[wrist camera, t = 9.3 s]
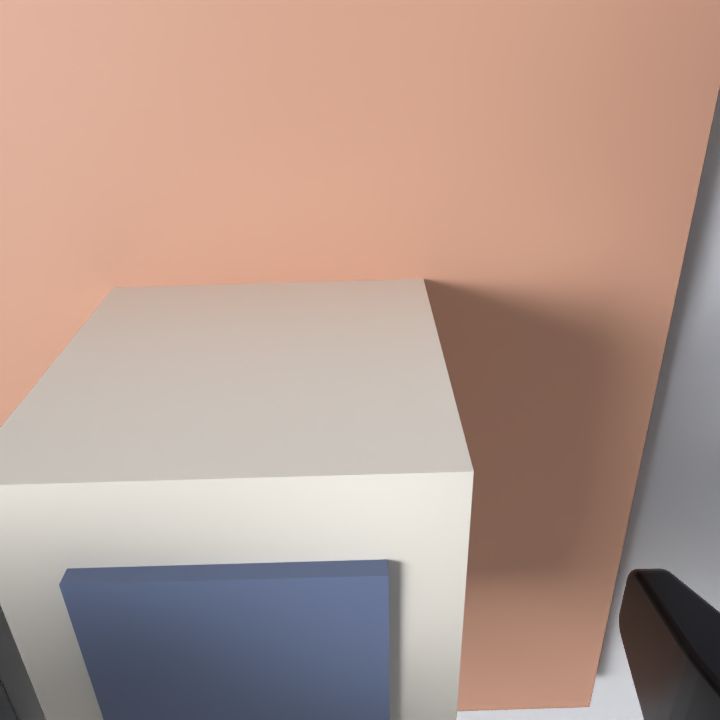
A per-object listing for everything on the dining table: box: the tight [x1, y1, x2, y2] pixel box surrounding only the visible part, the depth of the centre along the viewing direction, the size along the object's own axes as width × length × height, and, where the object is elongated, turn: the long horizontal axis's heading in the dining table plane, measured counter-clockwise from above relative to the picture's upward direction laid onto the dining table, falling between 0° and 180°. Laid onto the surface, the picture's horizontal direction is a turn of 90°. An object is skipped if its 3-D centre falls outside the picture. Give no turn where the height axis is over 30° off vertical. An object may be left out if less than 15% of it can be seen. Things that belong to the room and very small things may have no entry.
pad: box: [0, 0, 720, 711], centre depth 12 cm, size 14×11×1 cm
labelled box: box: [0, 279, 474, 720], centre depth 9 cm, size 6×4×5 cm
